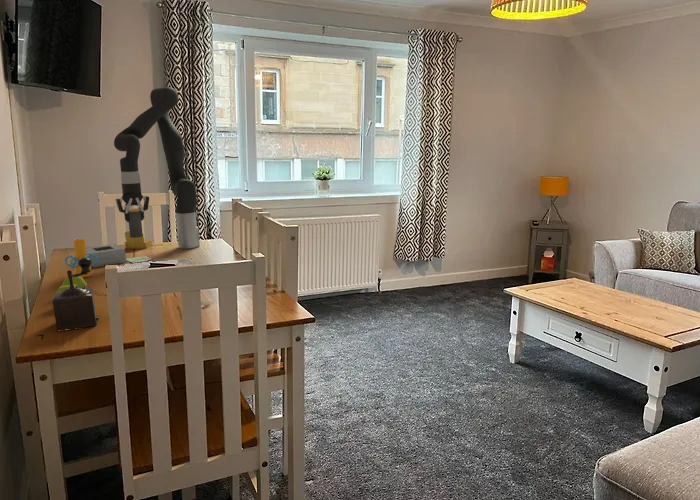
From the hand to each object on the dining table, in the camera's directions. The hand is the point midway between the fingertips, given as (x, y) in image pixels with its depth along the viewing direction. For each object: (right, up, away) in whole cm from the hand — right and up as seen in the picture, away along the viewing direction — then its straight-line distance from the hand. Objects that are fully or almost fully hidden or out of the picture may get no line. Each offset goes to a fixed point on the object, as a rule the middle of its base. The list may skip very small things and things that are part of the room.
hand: (134, 220), depth 228 cm
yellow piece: (-10, -12, +30) cm, 34 cm away
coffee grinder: (+12, -34, -70) cm, 79 cm away
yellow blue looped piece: (-12, -23, -21) cm, 33 cm away
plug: (0, -7, +2) cm, 7 cm away
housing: (-14, -18, +1) cm, 23 cm away
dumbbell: (0, -30, -51) cm, 59 cm away
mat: (0, -17, +4) cm, 18 cm away
